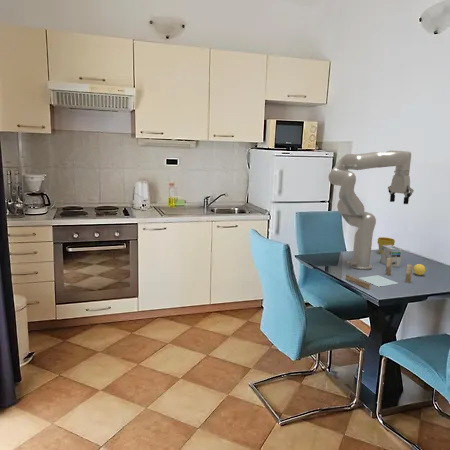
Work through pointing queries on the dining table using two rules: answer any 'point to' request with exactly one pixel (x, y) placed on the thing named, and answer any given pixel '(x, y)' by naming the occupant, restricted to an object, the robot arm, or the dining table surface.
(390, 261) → the post left
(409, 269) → the post right
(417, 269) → the ball
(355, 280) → the stopper wall
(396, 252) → the light bulb box
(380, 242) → the plant pot
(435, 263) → the dining table surface
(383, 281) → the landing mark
